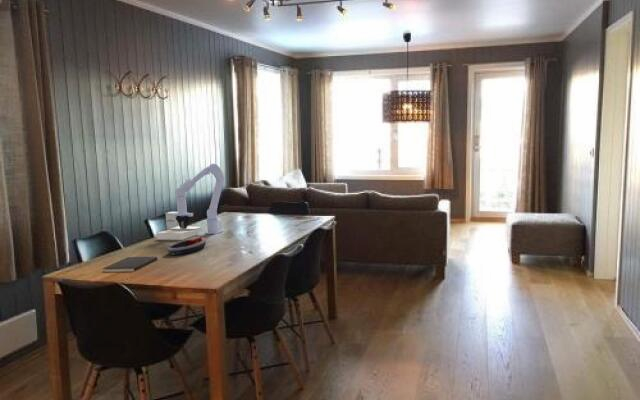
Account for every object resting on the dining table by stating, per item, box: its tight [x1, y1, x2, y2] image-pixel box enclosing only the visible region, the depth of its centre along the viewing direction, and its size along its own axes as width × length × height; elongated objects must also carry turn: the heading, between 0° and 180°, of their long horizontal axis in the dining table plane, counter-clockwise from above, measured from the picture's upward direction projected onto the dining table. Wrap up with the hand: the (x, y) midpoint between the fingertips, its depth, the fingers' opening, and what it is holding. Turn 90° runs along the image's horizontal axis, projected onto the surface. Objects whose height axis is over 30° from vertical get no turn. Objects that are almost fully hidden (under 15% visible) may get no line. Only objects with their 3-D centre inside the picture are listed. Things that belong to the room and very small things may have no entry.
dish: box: [166, 236, 207, 256], centre depth 292 cm, size 16×31×5 cm, turn 158°
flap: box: [171, 222, 202, 229], centre depth 341 cm, size 8×18×4 cm, turn 69°
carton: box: [156, 229, 198, 242], centre depth 332 cm, size 16×18×4 cm
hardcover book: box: [102, 256, 158, 273], centre depth 262 cm, size 16×23×2 cm
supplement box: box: [165, 211, 179, 231], centre depth 360 cm, size 7×7×13 cm
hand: (183, 227), depth 338 cm, fingers closed on flap, 2 cm apart
